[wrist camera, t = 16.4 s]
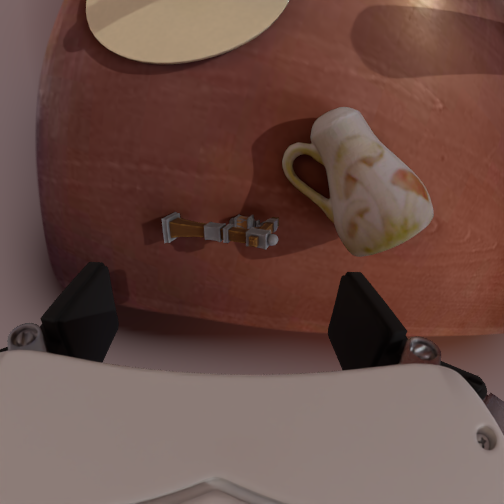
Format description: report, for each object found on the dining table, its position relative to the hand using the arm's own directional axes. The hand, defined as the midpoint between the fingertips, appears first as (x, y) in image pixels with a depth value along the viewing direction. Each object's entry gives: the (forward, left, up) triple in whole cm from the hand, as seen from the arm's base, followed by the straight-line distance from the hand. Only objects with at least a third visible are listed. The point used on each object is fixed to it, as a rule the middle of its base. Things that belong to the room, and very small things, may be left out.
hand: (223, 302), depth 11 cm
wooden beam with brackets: (0, 0, -11) cm, 11 cm away
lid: (-4, +19, -11) cm, 22 cm away
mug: (+9, +4, -11) cm, 15 cm away
